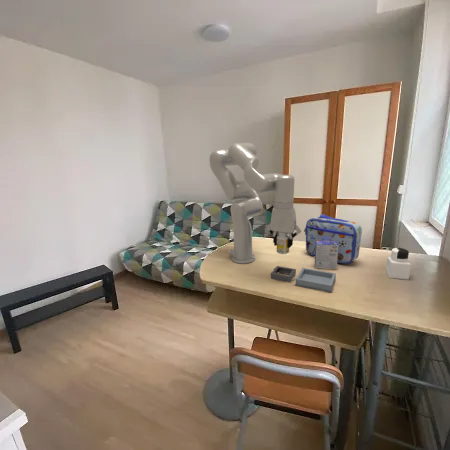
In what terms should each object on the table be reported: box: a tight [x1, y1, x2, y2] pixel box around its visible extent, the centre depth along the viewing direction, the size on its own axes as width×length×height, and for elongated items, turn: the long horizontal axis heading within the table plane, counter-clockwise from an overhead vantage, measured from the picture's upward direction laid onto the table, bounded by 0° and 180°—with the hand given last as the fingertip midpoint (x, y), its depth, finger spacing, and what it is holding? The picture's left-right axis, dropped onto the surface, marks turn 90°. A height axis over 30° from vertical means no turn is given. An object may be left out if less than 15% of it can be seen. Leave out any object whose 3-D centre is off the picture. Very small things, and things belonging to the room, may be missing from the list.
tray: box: [295, 267, 337, 293], centre depth 110 cm, size 14×12×3 cm
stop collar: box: [269, 265, 297, 283], centre depth 117 cm, size 9×9×2 cm
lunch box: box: [303, 213, 363, 265], centre depth 132 cm, size 28×10×22 cm, turn 42°
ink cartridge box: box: [314, 237, 338, 270], centre depth 123 cm, size 10×6×14 cm, turn 78°
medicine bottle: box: [385, 247, 412, 280], centre depth 112 cm, size 7×7×12 cm
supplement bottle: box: [276, 232, 290, 255], centre depth 113 cm, size 5×5×10 cm
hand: (282, 245), depth 114 cm, fingers closed on supplement bottle, 5 cm apart
